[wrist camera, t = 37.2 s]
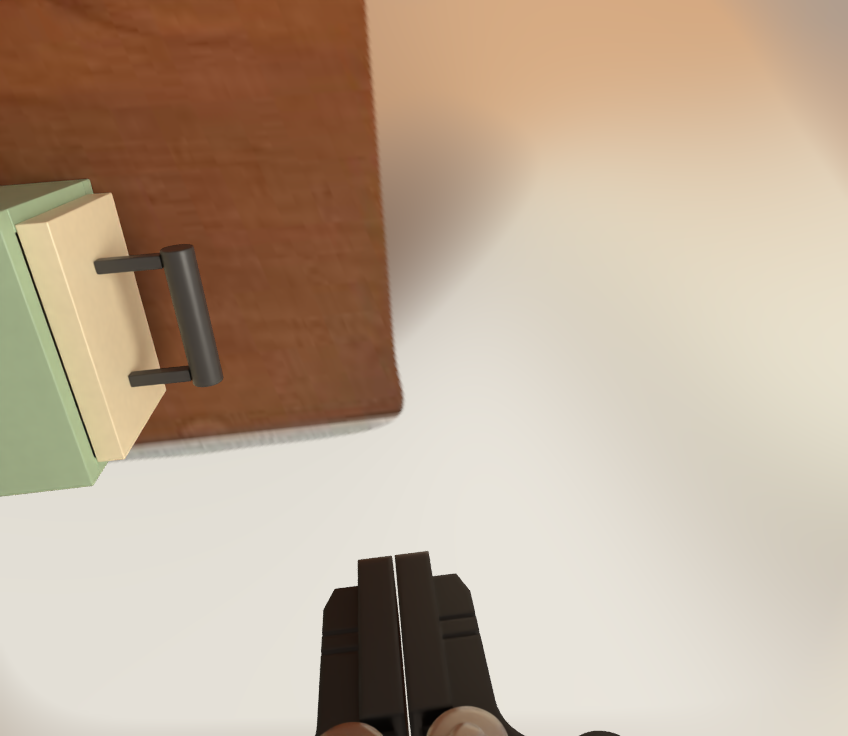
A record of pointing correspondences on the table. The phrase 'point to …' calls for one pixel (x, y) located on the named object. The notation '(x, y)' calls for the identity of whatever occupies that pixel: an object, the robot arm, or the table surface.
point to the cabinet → (35, 365)
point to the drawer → (112, 317)
